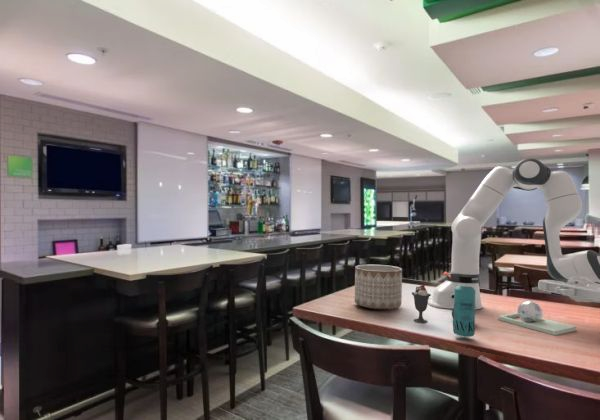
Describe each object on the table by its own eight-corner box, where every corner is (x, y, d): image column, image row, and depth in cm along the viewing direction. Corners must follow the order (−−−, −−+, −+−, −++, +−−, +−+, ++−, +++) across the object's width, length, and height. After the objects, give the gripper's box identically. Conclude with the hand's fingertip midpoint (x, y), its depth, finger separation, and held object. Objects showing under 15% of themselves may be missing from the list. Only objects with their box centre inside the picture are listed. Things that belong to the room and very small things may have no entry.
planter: (355, 300, 168) (356, 263, 168) (399, 302, 164) (400, 265, 164) (353, 310, 149) (353, 269, 149) (402, 314, 145) (403, 272, 145)
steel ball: (541, 314, 129) (516, 306, 134) (538, 331, 133) (513, 323, 138) (546, 301, 135) (521, 294, 140) (543, 318, 138) (519, 310, 143)
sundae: (428, 325, 131) (428, 282, 131) (409, 321, 135) (409, 280, 135) (432, 320, 137) (433, 280, 137) (413, 317, 140) (414, 278, 140)
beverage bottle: (448, 335, 121) (449, 273, 121) (468, 335, 121) (469, 273, 121) (459, 342, 114) (460, 277, 114) (479, 341, 115) (480, 277, 115)
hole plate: (576, 330, 129) (576, 326, 129) (554, 335, 123) (554, 331, 123) (519, 315, 146) (519, 312, 146) (498, 319, 140) (498, 316, 140)
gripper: (550, 275, 142) (529, 276, 136) (615, 286, 124) (594, 288, 117) (549, 291, 142) (528, 293, 136) (614, 305, 124) (593, 308, 117)
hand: (559, 291), depth 126 cm, fingers closed
